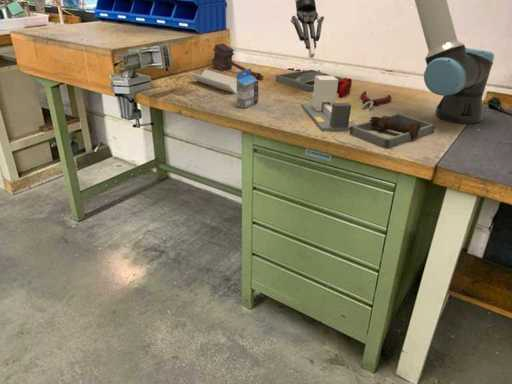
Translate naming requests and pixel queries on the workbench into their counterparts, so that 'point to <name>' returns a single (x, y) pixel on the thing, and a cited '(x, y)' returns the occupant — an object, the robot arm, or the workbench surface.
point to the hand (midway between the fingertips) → (312, 55)
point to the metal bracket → (309, 76)
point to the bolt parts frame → (361, 132)
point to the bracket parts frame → (288, 80)
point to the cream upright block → (324, 91)
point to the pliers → (373, 101)
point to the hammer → (228, 60)
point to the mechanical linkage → (344, 87)
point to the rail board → (320, 114)
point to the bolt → (396, 125)
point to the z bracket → (217, 80)
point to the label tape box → (246, 89)
